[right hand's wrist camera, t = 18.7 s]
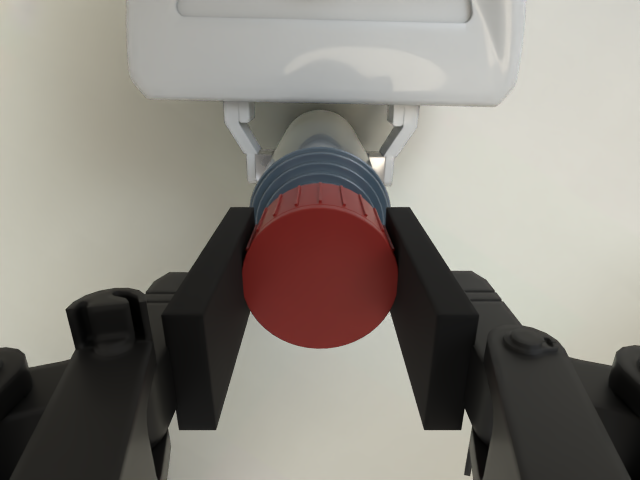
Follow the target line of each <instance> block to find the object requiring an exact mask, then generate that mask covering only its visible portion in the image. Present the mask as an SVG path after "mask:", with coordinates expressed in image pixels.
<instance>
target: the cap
mask: <svg viewBox="0 0 640 480" xmlns="http://www.w3.org/2000/svg"><path fill="white" fill-rule="evenodd" d="M245 250H246V251H247V253H246V255H245V258H244V261H243V266H242V277H243V290H244V298H245V300H246V303H247V305H248V307H249V309H250V311H251V312H252V314H253V316H254V317H255V318H256V319H257V321H258V322H259V323H260V324H261V325H262V326H263V327H264V328H265V329H266V330H268V331H269V332H270V333H271V334H273V335H275V336H276V337H278V338H280V339H281V340H284V341H286V342H288V343H291V344H294V345H297V346H301V347H306V348H316V349H320V348H333V347H339V346H343V345H346V344H349V343H352V342H355V341H357V340H358V339H360V338H362V337H364V336H366V335H367V334H369V333H370V332H371V331H373V330H374V329H375V328H376V327H377V326H378V325H379V324H380V323H381V322H382V321H383V320H384V318H385V317H386V316H387V314H388V313H389V311H390V309H391V307H392V305H393V303H394V301H395V298H396V294H397V281H398V265H397V261H396V258H395V255H394V253H393V251H395V249H394V247H393V244H392V242H391V239H390V237H389V234H388V232H387V230H386V227H385V225H382V223H381V220H380V218H379V216H378V213H377V210H376V209H375V208H373V207H372V206H371V205H370V204H369V203H368V202H367V201H366V200H365V199H364V198H362V195H360V194H359V195H358V194H357V193H355V192H353V191H351V190H349V189H347V188H344V187H343V186H342V185H340V186H338V185H334V184H326V183H322V182H319V183H313V184H307V185H302V186H301V185H299V186H298V187H296V188H293V189H291V190H289V191H287V192H285V193H284V194H280V195H279V197H278V198H277V199H275V200H274V201H273V202H272V203H271V204H270V205H269V206H268V207H267V208H265V209H264V211H263V214H262V216H261V219H260V220H259V223H258V225H257V224H256V225H255V227H254V230H253V232H252V235H251V237H250V239H249V242H248V244H247V247H246V249H245Z"/></svg>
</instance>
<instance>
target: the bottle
mask: <svg viewBox="0 0 640 480" xmlns="http://www.w3.org/2000/svg"><path fill="white" fill-rule="evenodd" d="M319 182H322V183H326V184H334V185H338V186H340V185H342V186H343V187H344V188H347V189H349V190H351V191H353V192H355V193H357V194H358V195H359V194H360V195H362V198H364V199H365V200H366V201H367V202H368V203H369V204H370V205H371V206H372V207H373V208H375V209H376V210H377V213H378V216H379V218H380V220H381V223H382V225H385V220H386V207H391V205H390V200H389V196H388V193H387V190H386V188H385V185H384V184H383V182H382V180H381V178H380V176H379V175H378V173H377V171H376V169H375V167H374V166H373V164H372V162H371V160H370V158H369V157H368V155H367V153H366V151H365V149H364V148H363V146H362V144H361V142H360V140H359V139H358V137H357V135H356V133H355V131H354V130H353V128H352V126H351V125H350V124H349V122H348V121H347V120H346V119H345V118H343V117H342V116H340V115H339V114H337V113H335V112H332V111H328V110H312V111H308V112H305V113H303V114H301V115H300V116H298V117H297V118H296V119H295V120H293V121H292V123H291V124H290V125H289V126H288V128H287V130H286V131H285V133H284V135H283V137H282V139H281V140H280V142H279V144H278V146H277V148H276V149H275V151H274V153H273V155H272V157H271V158H270V160H269V162H268V164H267V166H266V167H265V169H264V171H263V173H262V175H261V176H260V178H259V180H258V182H257V184H256V186H255V188H254V190H253V193H252V196H251V200H250V206H249V207H254V215H255V225H256V224H257V225H258V223H259V220H260V219H261V216H262V214H263V211H264V209H265V208H267V207H268V206H269V205H270V204H271V203H272V202H273V201H274V200H275V199H277V198H278V197H279V195H280V194H284V193H285V192H287V191H289V190H291V189H293V188H296V187H298V186H299V185H301V186H302V185H307V184H313V183H319Z"/></svg>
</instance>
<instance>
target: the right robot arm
mask: <svg viewBox="0 0 640 480" xmlns="http://www.w3.org/2000/svg"><path fill="white" fill-rule="evenodd" d="M254 227H255V215H254V207H231V208H230V209H229V211H228V212H227V214H226V215H225V217H224V218H223V220H222V221H221V223H220V225H219V226H218V228H217V229H216V231H215V232H214V234H213V235H212V237H211V238H210V240H209V242H208V243H207V245H206V246H205V248H204V249H203V251H202V252H201V254H200V255H199V257H198V259H197V260H196V262H195V263H194V265H193V266H192V268H191V269H190V271H189V272H169V273H167V274H166V275H164V276H162V277H161V278H159V279H157V280H156V281H154V282H153V284H152V285H151V286H150V287H149V289H148V290H147V291H146V294H143V293H142V292H141V291H139V290H135V289H131V288H112V289H107V290H101V291H97V292H94V293H91V294H88V295H85V296H84V297H82V298H80V299H78V300H76V301H74V302H73V303H72V304H71V305H70V306H69V307H68V308H67V309H66V313H67V317H68V321H69V325H70V329H71V333H72V337H73V341H74V345H75V349H76V350H75V352H74V354H73V356H72V357H71V359H70V360H66V361H62V362H57V363H51V364H46V365H41V366H36V367H30V368H29V367H28V364H27V360H26V357H25V354H24V353H22V352H21V351H20V350H19V349H14V348H8V347H4V348H0V480H167V474H168V466H169V458H170V450H171V443H170V436H169V431H168V427H169V424H170V422H171V420H172V417H173V415H174V413H175V410H176V414H177V420H178V426H179V430H216V428H217V425H218V421H219V418H220V415H221V411H222V408H223V404H224V401H225V397H226V394H227V390H228V387H229V383H230V380H231V376H232V373H233V369H234V366H235V362H236V359H237V355H238V352H239V349H240V345H241V342H242V338H243V335H244V331H245V328H246V324H247V321H248V317H249V314H250V309H249V307H248V305H247V303H246V300H245V298H244V290H243V277H242V266H243V261H244V258H245V255H246V253H247V251H246V250H245V249H246V247H247V244H248V242H249V239H250V237H251V235H252V232H253V230H254ZM385 227H386V230H387V232H388V234H389V237H390V239H391V242H392V244H393V247H394V249H395V251H393V253H394V255H395V258H396V261H397V265H398V281H397V294H396V298H395V301H394V303H393V305H392V307H391V309H390V313H391V316H392V320H393V323H394V327H395V330H396V334H397V337H398V341H399V344H400V348H401V351H402V355H403V358H404V361H405V365H406V368H407V372H408V375H409V379H410V382H411V386H412V389H413V393H414V396H415V400H416V403H417V407H418V410H419V414H420V417H421V420H422V424H423V427H424V430H461V428H462V422H463V415H464V409H465V410H466V412H467V414H468V417H469V419H470V421H471V424H472V431H471V436H470V442H469V448H468V454H467V460H466V466H465V473H464V475H467V476H470V474H471V468H472V473H473V480H640V346H637V345H633V346H627V347H622V348H621V349H620V350H619V351H617V352H616V355H615V358H614V362H613V365H612V366H610V365H605V364H599V363H594V362H589V361H584V360H578V359H574V358H570V357H568V355H567V353H566V351H565V349H564V348H563V346H562V345H561V344H560V343H559V342H558V341H557V340H556V339H554V338H553V337H551V336H550V335H548V334H547V333H545V332H542V331H539V330H537V329H534V328H531V327H527V326H522V325H521V323H520V322H519V321H518V320H517V318H516V317H515V316H514V314H513V313H512V312H511V311H510V309H509V308H508V307H507V306H506V304H505V303H504V302H502V301H501V298H500V297H499V295H498V294H497V293H495V290H494V289H493V288H492V287H491V285H490V284H489V283H488V281H487V280H486V279H484V278H482V277H481V276H479V275H477V274H476V273H474V272H472V271H451V270H450V269H449V267H448V266H447V264H446V263H445V261H444V260H443V258H442V257H441V255H440V253H439V252H438V250H437V249H436V247H435V246H434V244H433V243H432V241H431V240H430V238H429V236H428V235H427V233H426V232H425V230H424V229H423V227H422V226H421V224H420V223H419V221H418V219H417V218H416V216H415V215H414V213H413V212H412V210H411V209H410V207H386V220H385Z"/></svg>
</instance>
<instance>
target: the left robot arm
mask: <svg viewBox="0 0 640 480" xmlns="http://www.w3.org/2000/svg"><path fill="white" fill-rule="evenodd" d="M525 16H526V0H126V39H127V56H128V67H129V74H130V78H131V80H132V82H133V83H134V84H135V86H136V87H137V88H138V89H139V90H140V91H141V93H142V94H143V95H144V96H145V97H146V98H148V99H157V100H201V101H223V104H224V121H225V124H226V126H227V128H228V129H229V131H230V132H231V134H232V135H233V137H234V139H235V140H236V142H237V143H238V145H239V147H240V148H241V150H242V151H243V153H244V154H246V160H247V180H248V183H257V182H258V180H259V178H260V176H261V175H262V173H263V171H264V169H265V167H266V166H267V164H268V162H269V160H270V158H271V157H272V155H273V153H274V151H275V150H274V149H261V147H260V145H259V143H258V141H257V140H256V138H255V136H254V134H253V133H252V131H251V129H250V127H249V126H248V124H247V123H248V122H250V121H251V120H252V119H253V118H255V102H291V103H336V104H380V105H388V114H387V120H388V122H389V123H391V124H392V125H394V128H393V130H392V131H391V133H390V134H389V136H388V138H387V139H386V141H385V142H384V144H383V145H382V147H381V149H380V150H379V151H366V153H367V155H368V157H369V158H370V160H371V162H372V164H373V166H374V167H375V169H376V171H377V173H378V175H379V176H380V178H381V180H382V182H383V184H384V185H385V186H391V185H392V179H393V168H394V157H397V156H398V154H399V153H400V151H401V150H402V149H403V147H404V146H405V144H406V143H407V141H408V140H409V138H410V137H411V136H412V134H413V133H414V131H415V130H416V128H417V124H418V115H419V106H420V105H425V106H470V107H496V106H498V105H499V104H500V103H501V102H502V101H503V100H504V99H505V98H506V97H507V96H508V94H509V93H510V92H511V91H512V90H513V88H514V87H515V84H516V81H517V77H518V73H519V67H520V61H521V54H522V47H523V38H524V28H525Z"/></svg>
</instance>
